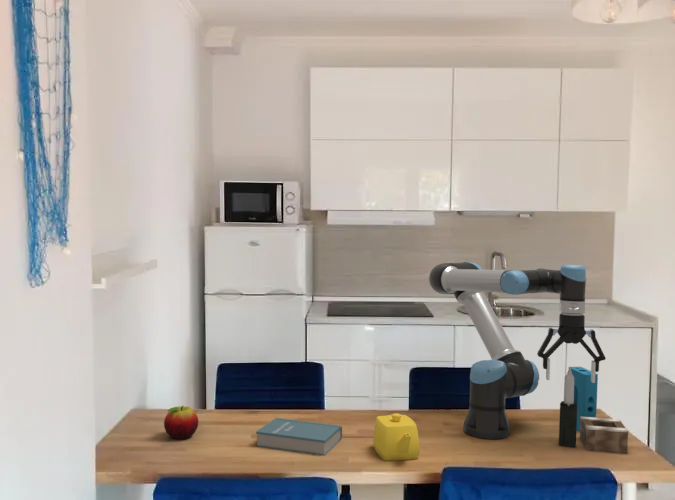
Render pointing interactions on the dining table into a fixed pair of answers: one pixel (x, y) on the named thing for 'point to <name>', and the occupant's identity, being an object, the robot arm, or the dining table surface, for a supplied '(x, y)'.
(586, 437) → the holder
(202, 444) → the dining table surface
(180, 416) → the fruit
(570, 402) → the grey and black rod
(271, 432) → the book
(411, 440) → the teapot
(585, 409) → the block
